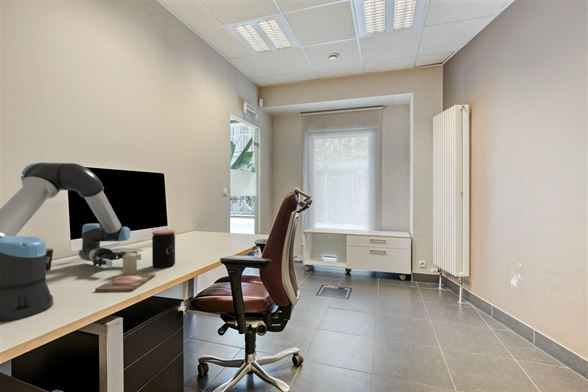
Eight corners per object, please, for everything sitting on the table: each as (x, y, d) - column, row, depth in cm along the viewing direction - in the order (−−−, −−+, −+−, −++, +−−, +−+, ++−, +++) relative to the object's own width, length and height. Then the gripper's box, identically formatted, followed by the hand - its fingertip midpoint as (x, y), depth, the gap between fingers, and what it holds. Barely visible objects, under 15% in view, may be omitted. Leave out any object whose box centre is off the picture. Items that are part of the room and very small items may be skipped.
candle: (130, 275, 122) (130, 254, 121) (119, 275, 123) (119, 253, 122) (139, 272, 127) (139, 251, 127) (129, 271, 128) (129, 250, 128)
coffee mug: (53, 267, 136) (52, 247, 136) (54, 270, 130) (53, 250, 130) (20, 271, 128) (20, 251, 128) (19, 275, 122) (19, 253, 122)
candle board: (132, 291, 102) (132, 287, 102) (95, 291, 102) (95, 287, 102) (155, 276, 120) (155, 273, 120) (123, 277, 120) (123, 273, 120)
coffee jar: (169, 268, 133) (169, 232, 133) (148, 268, 133) (147, 232, 133) (178, 263, 143) (178, 229, 143) (159, 263, 144) (158, 229, 143)
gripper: (126, 257, 148) (150, 262, 138) (72, 268, 126) (97, 275, 116) (126, 244, 148) (150, 247, 138) (72, 252, 126) (97, 257, 116)
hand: (126, 260), depth 127 cm, fingers open, 13 cm apart
